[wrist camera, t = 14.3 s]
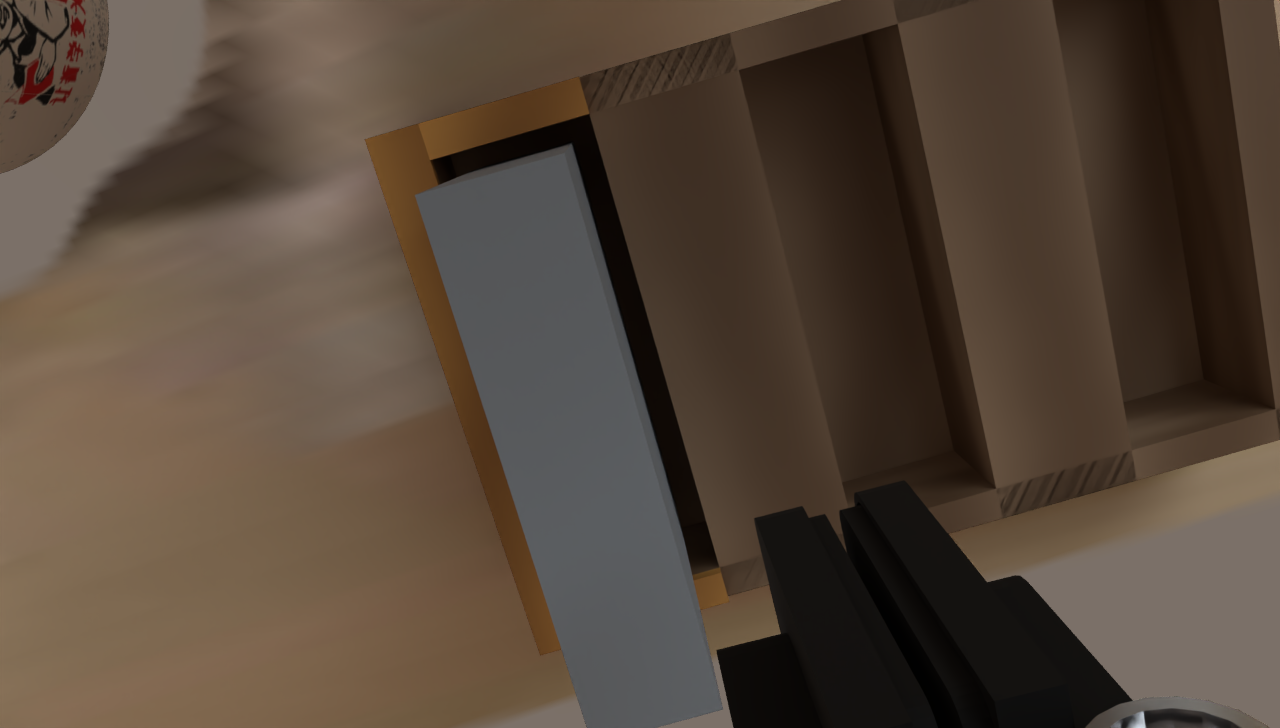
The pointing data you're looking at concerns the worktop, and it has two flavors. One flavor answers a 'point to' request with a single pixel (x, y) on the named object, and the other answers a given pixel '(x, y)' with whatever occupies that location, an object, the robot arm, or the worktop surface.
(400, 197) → the rack
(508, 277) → the panel
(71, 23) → the teacup with lid
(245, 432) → the worktop surface
